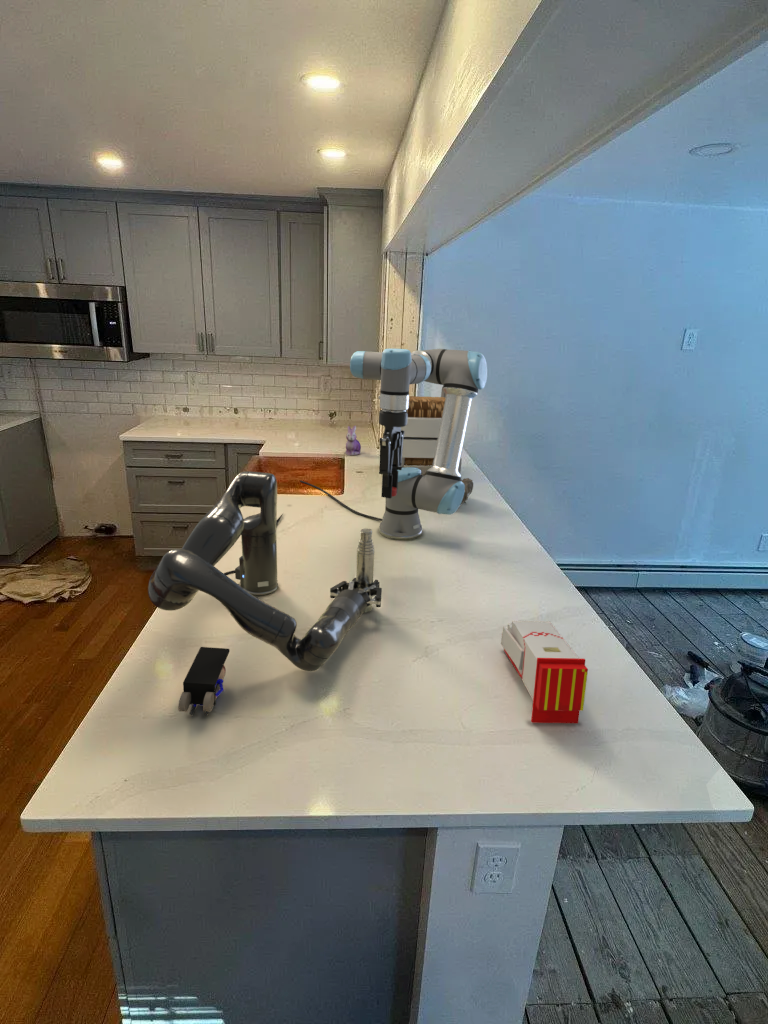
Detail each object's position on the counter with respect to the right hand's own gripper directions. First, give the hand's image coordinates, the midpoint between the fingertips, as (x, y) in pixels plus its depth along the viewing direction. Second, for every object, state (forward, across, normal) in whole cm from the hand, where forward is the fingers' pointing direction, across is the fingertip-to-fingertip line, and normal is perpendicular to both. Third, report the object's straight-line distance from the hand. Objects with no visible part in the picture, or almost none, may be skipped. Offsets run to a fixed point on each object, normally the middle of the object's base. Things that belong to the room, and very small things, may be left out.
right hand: (389, 494), depth 156 cm
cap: (-2, 0, 0) cm, 2 cm away
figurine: (+26, -134, -68) cm, 153 cm away
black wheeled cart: (+27, +64, -14) cm, 71 cm away
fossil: (+26, -79, +2) cm, 83 cm away
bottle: (+26, +17, 0) cm, 32 cm away
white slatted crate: (+26, -115, -25) cm, 121 cm away
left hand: (+20, +15, 0) cm, 25 cm away
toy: (+27, +31, +46) cm, 62 cm away
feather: (+26, -32, -53) cm, 67 cm away
